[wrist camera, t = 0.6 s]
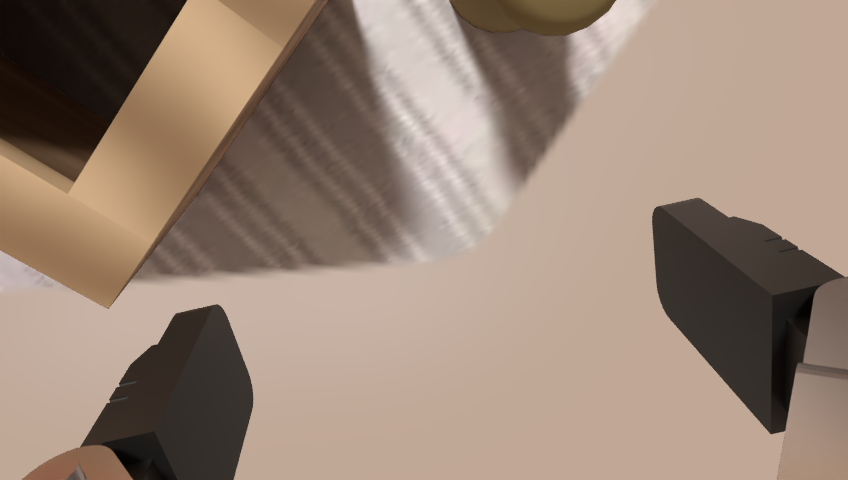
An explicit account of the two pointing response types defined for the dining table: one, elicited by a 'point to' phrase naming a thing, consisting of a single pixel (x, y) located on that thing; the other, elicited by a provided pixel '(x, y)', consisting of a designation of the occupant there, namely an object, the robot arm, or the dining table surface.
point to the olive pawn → (532, 14)
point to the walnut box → (134, 143)
